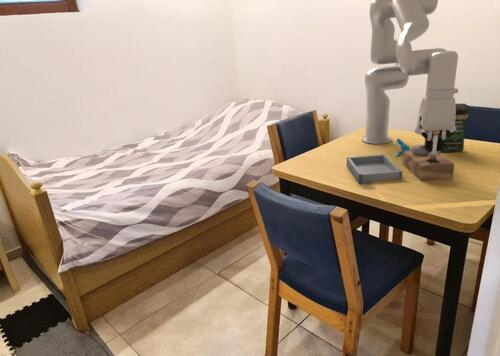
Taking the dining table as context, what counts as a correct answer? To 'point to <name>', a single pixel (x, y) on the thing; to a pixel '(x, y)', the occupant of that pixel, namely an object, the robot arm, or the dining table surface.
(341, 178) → the dining table surface
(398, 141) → the gear
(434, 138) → the pin
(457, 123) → the coffee jar
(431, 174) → the tensioner block
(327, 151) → the dining table surface
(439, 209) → the dining table surface
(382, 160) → the tray
